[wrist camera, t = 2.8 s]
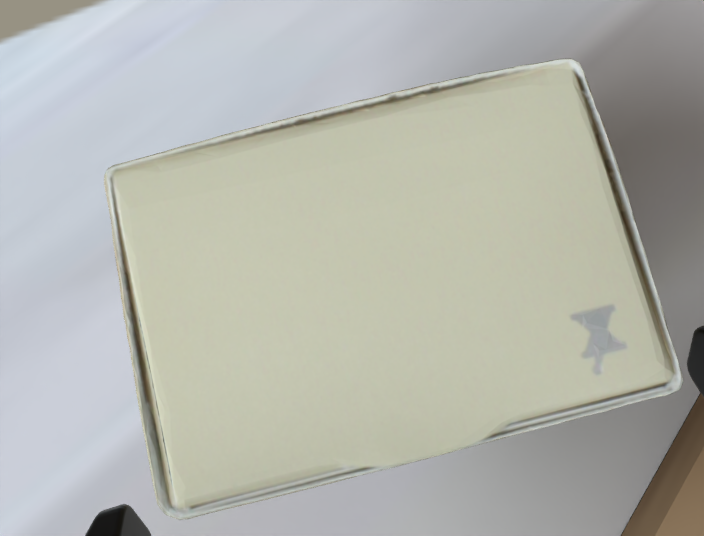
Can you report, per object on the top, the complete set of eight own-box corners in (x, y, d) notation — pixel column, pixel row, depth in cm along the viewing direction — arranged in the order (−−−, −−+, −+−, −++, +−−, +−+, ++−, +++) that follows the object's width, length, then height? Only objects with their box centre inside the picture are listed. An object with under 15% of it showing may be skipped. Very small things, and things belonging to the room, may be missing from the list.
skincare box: (441, 236, 19) (609, 35, 7) (477, 369, 19) (724, 388, 7) (245, 282, 19) (82, 152, 7) (275, 419, 18) (154, 536, 6)
